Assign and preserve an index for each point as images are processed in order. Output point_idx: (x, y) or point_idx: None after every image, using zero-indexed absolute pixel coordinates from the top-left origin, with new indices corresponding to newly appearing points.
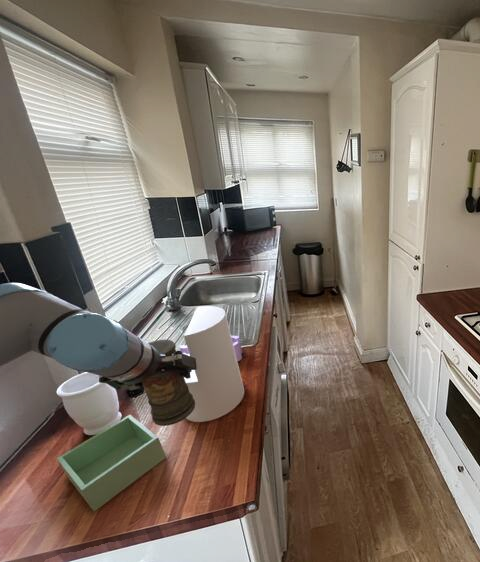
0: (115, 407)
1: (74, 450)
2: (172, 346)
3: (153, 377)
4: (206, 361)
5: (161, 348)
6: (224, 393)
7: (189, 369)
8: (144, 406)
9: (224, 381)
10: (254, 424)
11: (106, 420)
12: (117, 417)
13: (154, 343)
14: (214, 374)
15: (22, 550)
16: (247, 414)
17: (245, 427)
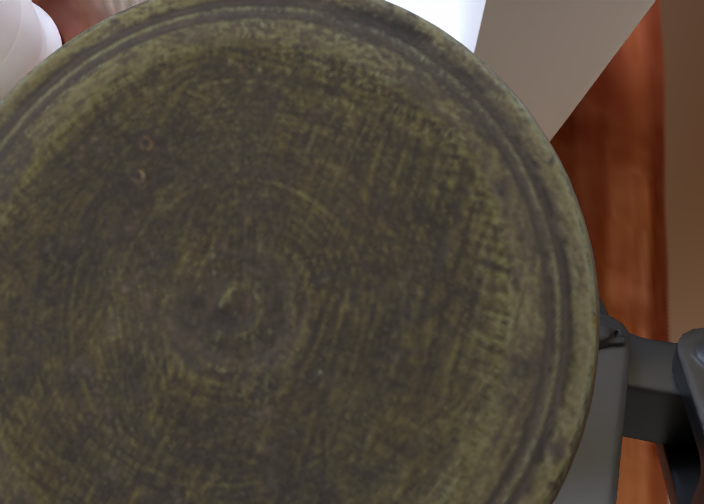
0: (22, 33)
1: None
2: (585, 331)
3: None
4: (577, 30)
5: (391, 338)
6: (549, 128)
7: (669, 481)
8: (136, 2)
9: (583, 90)
10: (653, 288)
11: (11, 85)
12: (48, 53)
13: (210, 87)
14: (566, 81)
15: None
16: (613, 211)
17: (611, 292)
